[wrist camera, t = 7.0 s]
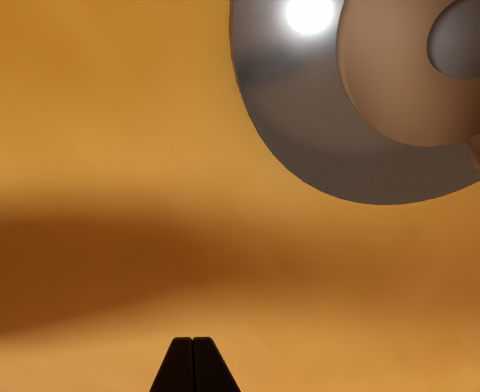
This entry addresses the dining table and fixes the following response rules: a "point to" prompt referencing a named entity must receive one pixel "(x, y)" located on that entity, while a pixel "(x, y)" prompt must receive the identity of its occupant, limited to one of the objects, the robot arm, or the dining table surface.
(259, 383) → the dining table surface
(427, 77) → the crank handle
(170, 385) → the robot arm
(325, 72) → the post base
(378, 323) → the dining table surface
